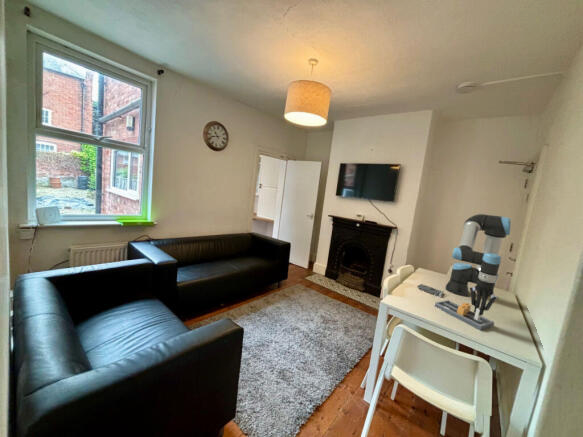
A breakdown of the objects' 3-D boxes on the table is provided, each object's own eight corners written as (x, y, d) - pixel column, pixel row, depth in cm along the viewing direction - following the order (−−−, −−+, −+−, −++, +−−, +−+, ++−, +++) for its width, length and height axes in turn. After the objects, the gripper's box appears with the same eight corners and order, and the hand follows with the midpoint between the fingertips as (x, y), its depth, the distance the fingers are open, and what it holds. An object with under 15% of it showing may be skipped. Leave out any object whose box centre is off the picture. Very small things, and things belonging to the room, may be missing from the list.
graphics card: (446, 290, 173) (441, 293, 165) (445, 295, 174) (440, 298, 166) (422, 282, 186) (416, 284, 177) (421, 286, 186) (415, 289, 178)
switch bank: (447, 304, 156) (448, 299, 156) (493, 326, 133) (494, 321, 133) (434, 306, 150) (435, 302, 150) (480, 330, 127) (481, 325, 127)
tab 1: (460, 312, 141) (462, 304, 141) (466, 315, 138) (468, 307, 138) (456, 313, 140) (458, 305, 139) (462, 315, 137) (464, 308, 136)
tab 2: (463, 309, 146) (465, 301, 145) (469, 311, 143) (471, 304, 142) (460, 310, 144) (462, 302, 143) (465, 312, 141) (467, 305, 141)
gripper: (469, 276, 133) (460, 313, 136) (497, 286, 121) (486, 326, 124) (476, 275, 136) (467, 312, 139) (504, 284, 125) (493, 324, 128)
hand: (476, 319), depth 132 cm, fingers closed
